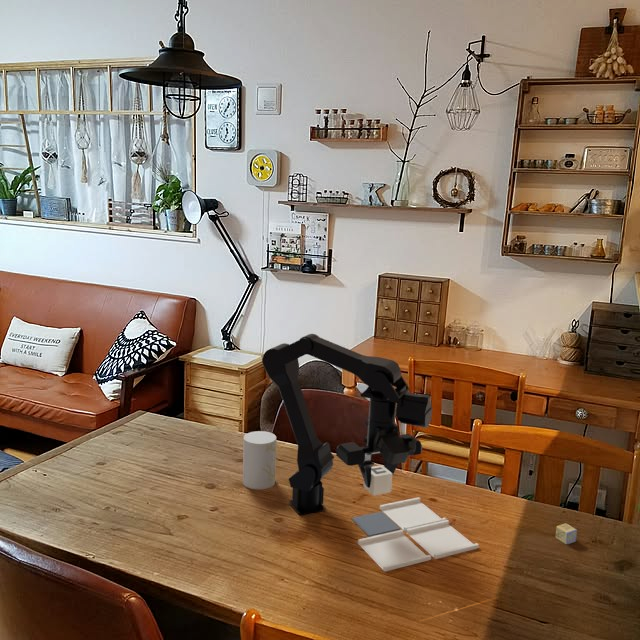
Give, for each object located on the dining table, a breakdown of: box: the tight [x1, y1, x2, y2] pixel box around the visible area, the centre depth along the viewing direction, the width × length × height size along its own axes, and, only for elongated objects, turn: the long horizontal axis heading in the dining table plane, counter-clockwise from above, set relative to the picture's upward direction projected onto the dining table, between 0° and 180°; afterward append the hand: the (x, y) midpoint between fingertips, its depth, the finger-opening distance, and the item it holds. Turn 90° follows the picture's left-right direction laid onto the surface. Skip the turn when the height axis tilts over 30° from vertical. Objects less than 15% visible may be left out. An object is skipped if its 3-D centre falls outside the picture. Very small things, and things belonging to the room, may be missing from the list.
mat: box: [350, 510, 401, 537], centre depth 144 cm, size 8×8×1 cm
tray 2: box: [357, 529, 432, 572], centre depth 133 cm, size 11×11×1 cm
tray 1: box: [379, 496, 447, 533], centre depth 148 cm, size 11×11×1 cm
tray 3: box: [405, 519, 480, 560], centre depth 138 cm, size 11×11×1 cm
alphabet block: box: [555, 523, 578, 546], centre depth 141 cm, size 3×3×3 cm
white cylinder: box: [242, 430, 277, 490], centre depth 161 cm, size 8×8×12 cm
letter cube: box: [362, 464, 394, 497], centre depth 142 cm, size 4×4×5 cm
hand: (377, 485), depth 142 cm, fingers closed on letter cube, 4 cm apart
